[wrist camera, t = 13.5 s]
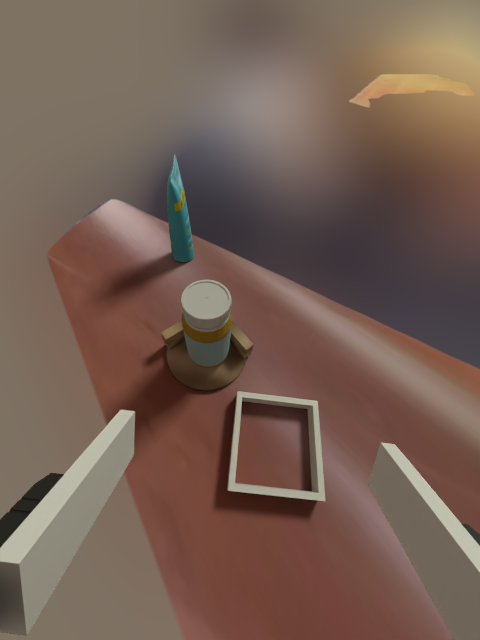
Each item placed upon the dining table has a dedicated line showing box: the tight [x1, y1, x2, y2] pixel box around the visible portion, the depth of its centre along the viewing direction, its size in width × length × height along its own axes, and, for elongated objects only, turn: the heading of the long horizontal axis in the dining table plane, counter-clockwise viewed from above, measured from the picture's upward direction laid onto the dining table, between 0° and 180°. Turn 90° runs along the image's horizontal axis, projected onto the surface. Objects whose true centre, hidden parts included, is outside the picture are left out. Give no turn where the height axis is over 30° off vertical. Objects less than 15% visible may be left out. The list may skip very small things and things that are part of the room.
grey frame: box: [227, 391, 325, 501], centre depth 35 cm, size 13×13×2 cm
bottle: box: [181, 280, 232, 368], centre depth 36 cm, size 7×7×15 cm
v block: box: [161, 321, 254, 391], centre depth 41 cm, size 14×15×4 cm
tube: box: [167, 154, 194, 262], centre depth 47 cm, size 7×5×19 cm, turn 8°
